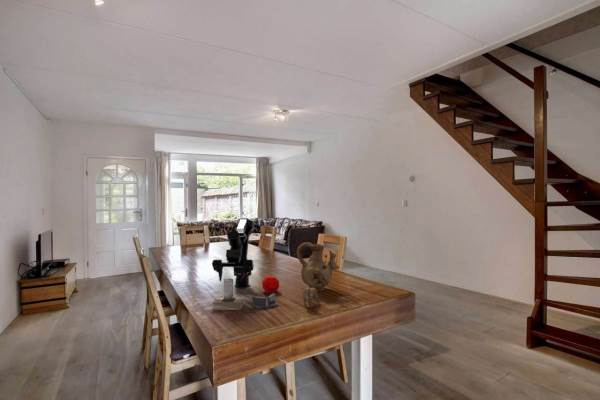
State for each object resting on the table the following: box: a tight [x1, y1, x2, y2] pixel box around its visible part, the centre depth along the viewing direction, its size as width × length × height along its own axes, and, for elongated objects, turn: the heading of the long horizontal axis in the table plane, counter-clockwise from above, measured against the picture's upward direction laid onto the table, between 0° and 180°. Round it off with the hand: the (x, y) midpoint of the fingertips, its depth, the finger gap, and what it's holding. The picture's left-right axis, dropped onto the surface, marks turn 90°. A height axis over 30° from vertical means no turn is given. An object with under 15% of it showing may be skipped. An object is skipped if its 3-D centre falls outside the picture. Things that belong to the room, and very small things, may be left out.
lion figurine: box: [302, 286, 319, 308], centre depth 137 cm, size 15×5×9 cm, turn 164°
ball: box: [261, 275, 280, 294], centre depth 158 cm, size 8×8×8 cm
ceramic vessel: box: [296, 241, 340, 293], centre depth 161 cm, size 18×19×25 cm
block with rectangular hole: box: [212, 296, 245, 311], centre depth 134 cm, size 8×12×3 cm, turn 90°
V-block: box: [249, 293, 279, 310], centre depth 138 cm, size 10×11×4 cm
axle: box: [223, 277, 234, 302], centre depth 134 cm, size 4×4×12 cm
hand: (230, 280), depth 138 cm, fingers open, 9 cm apart
